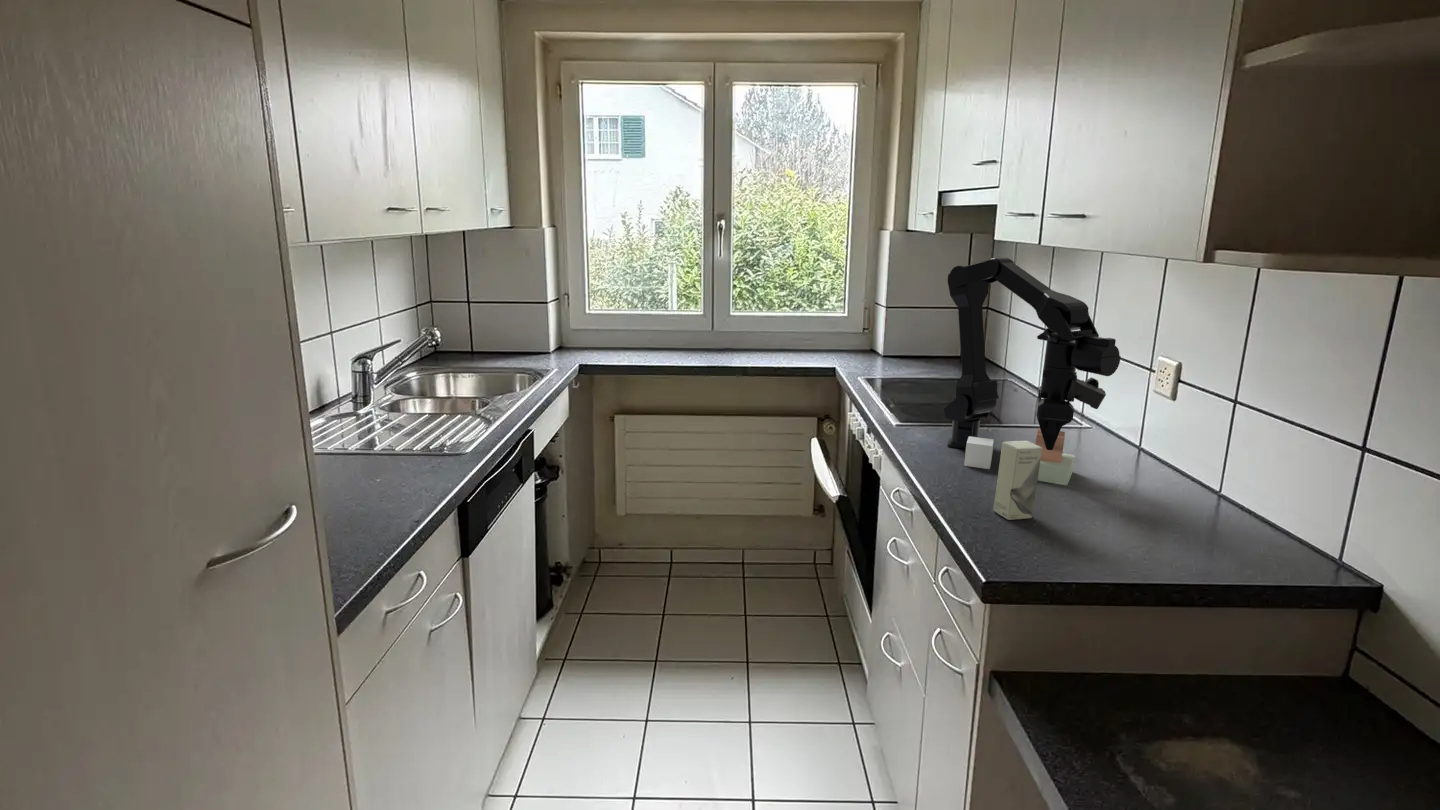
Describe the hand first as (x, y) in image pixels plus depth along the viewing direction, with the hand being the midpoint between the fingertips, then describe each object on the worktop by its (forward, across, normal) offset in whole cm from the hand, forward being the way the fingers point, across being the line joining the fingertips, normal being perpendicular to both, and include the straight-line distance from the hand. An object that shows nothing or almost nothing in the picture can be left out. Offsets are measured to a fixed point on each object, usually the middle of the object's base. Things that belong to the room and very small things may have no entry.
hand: (1049, 443), depth 153 cm
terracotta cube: (+3, 0, 0) cm, 3 cm away
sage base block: (+7, 0, 0) cm, 7 cm away
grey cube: (+7, +1, +13) cm, 15 cm away
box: (+7, -25, +5) cm, 26 cm away
